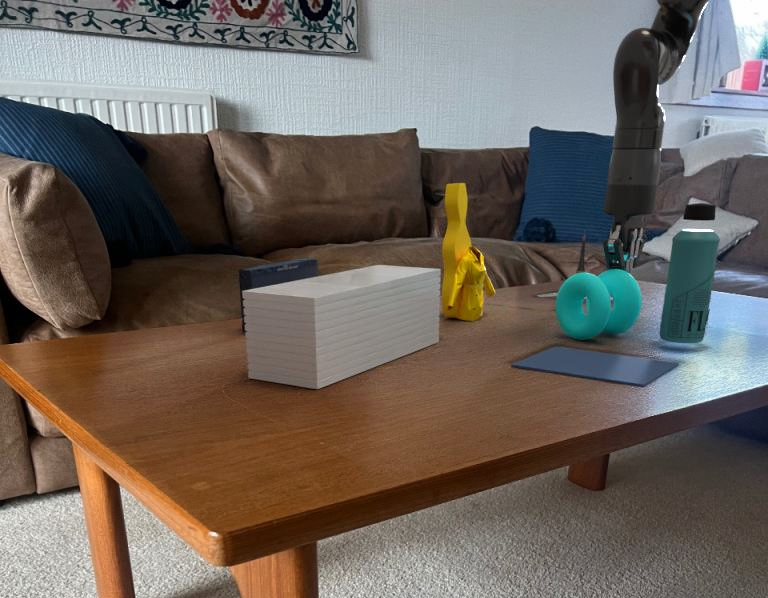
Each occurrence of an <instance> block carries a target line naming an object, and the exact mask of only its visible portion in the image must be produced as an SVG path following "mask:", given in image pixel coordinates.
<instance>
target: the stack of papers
mask: <svg viewBox="0 0 768 598" xmlns="http://www.w3.org/2000/svg"><path fill="white" fill-rule="evenodd" d="M441 275H442V269H441V268H433V267H431V268H430V267H416V266H403V265H402V266H401V265H388V264H387V265H386V264H376V265H371V266H366V267H359V268H355V269H349V270H344V271H339V272H335V273H334V272H333V273H329V274H325V275H318V277H313V278H307V279H302V280H297V281H292V282H287V283H281V284H276V285H271V286H266V287H261V288H255V289H250V290H245V291H242V295H243V299H245V300H243V307H245V308H244V315H246V316H245V317H244V323H246V324H245V331H247V332H246V333H244V335H245V339H246V340H245V347H247V348H245V349H246V362H247V363H246V366H247V370H248V371H247V377H248V379H253V380H259V381H264V382H269V383H270V382H271V383H277V384H283V385H290V386H296V387H302V388H307V389H313V390H314V389H315V390H319V389H322V388H324V387H328V386H330V385H332V384H334V383H338V382H340V381H342V380H346V379H348V378H350V377H353V376H355V375H358V374H360V373H363V372H366V371H368V370H371V369H374V368H376V367H379V366H382V365H384V364H386V363H389V362H391V361H394V360H397V359H398V358H399V359H400V358H402V357H404V356H407V355H409V354H413V353H415V352H417V351H420V350H423V349H425V348H427V347H430V346H433V345H435V344H437V343H439V342H440V336H439V335H440V330H439V329H440V314H441V313H440V308H441V305H440V302H441Z"/></svg>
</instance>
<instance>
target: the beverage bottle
mask: <svg viewBox="0 0 768 598" xmlns="http://www.w3.org/2000/svg"><path fill="white" fill-rule="evenodd" d="M716 206H717V205H716V204H712V203H704V202H695V203H688V204H686V205H685V209H684V213H683V217H682V220H683V221H684V220H685V221H701V222H702V221H715V220H716V209H717V207H716ZM671 241H672V243H671V249H670V250H671V251H670V259H669V266H668V271H667V280H666V285H665V287H664V294H663V295H664V296H663V302H662V310H661V315H660V319H659V320H660V321H659V322H660V325H659V338H660V340H662V341H665V342H670V343H677V344H698V343H702V342H703V341H704V339H705V337H706V336H707V335H706V330H707V329H708V327H707V325H708V324H709V315H710V311H711V308H710V304H711V302H712V301H711V300H712V291H713V286H714V282H715V274H716V270H717V261H718V260H717V259H718V258H717V257H718V253H719V252H718V251H719V246H720V245H719V244H720V242H721V238H720V236H719V235H718V233H717V232H716V231H714V230H713V229H702V228H701V229H700V228H683V229H681V230H680V231H678V232H677V233H676V234H675V235H674V236H672V239H671Z"/></svg>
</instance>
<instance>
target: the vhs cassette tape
mask: <svg viewBox="0 0 768 598" xmlns="http://www.w3.org/2000/svg"><path fill="white" fill-rule="evenodd" d="M318 270H319V265H318V258H311V257H310V258H309V257H308V258H307V257H305V258H300V259H299V258H298V259H292V260H286V261H282V262H275V263H269V264H263V265H257V266H252V267H247V268H246V267H245V268H240V269H238V284H239V285H238V286H239V299H240V313H241V319H242V320H241V326H242V327H241V329H242V333H243V334H245V333H246V332H247V331H245V324H246V323H244V317H245V316H246V315H244V308H245V307H243V300H245V299H243V295H242V291H245V290H250V289H255V288H261V287H266V286H271V285H276V284H281V283H287V282H292V281H297V280H302V279H307V278H313V277H318V276H319V275H318V272H319V271H318Z"/></svg>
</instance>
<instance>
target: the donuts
mask: <svg viewBox="0 0 768 598" xmlns="http://www.w3.org/2000/svg"><path fill="white" fill-rule="evenodd" d="M557 293H558V294H557V296H556V299H555V315H556V319H557V322H558V323H559V326H560V328H561V329H562V330H563V332H564V333H565V334H567V336H569V337H571V338H572V339H575V340H578V341H587V340H591V339H593V338H595V337H597V336H598V335H599V334H601V332H602V333H603V334H607V335H613V336H615V335H620V334H623V333H625V332H627V331H628V330H629V329H631V328H632V327H633V326H634V324H636V322H637V321H638V319H639V317H640V314H641V310H642V305H643V304H642V303H643V297H642V291H641V288H640V285H639V283H638V282H637V280H636V279H635V277H633V275H632V274H631V273H628V272H626V271H623V270H620V269H610V270H608V269H607V270H604V271H603V272H601V273H600V274H598V275H596V274H593V273H591V272H590V273H589V272H585V273H577V274H576V273H575V274H572V275H571V276H569V277H568V278H566V279H565V280H564V282H562V284H561V286H560V287H559V289H558V291H557ZM610 296H612V298H613V300H611V299H610ZM585 297H587V300H584V299H585ZM584 301H585V304H586V311H587V313H586V312H585V310H584ZM612 301H613V307H612Z"/></svg>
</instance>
